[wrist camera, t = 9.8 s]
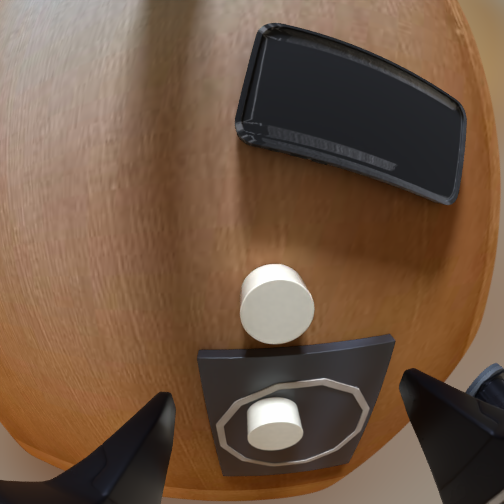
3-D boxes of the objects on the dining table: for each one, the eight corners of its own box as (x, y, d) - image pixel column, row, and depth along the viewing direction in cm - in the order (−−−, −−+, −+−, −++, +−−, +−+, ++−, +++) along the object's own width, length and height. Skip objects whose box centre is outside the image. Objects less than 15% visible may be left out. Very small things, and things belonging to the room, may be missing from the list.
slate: (390, 333, 18) (396, 341, 17) (346, 456, 23) (348, 463, 22) (198, 349, 17) (196, 359, 16) (223, 469, 22) (223, 476, 21)
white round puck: (300, 394, 18) (306, 418, 15) (296, 425, 19) (300, 447, 16) (245, 398, 18) (246, 423, 15) (247, 428, 19) (248, 451, 16)
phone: (260, 19, 11) (467, 107, 12) (259, 28, 12) (457, 109, 13) (229, 141, 13) (455, 210, 14) (231, 144, 14) (445, 208, 15)
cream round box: (306, 262, 16) (317, 276, 14) (303, 320, 17) (311, 341, 15) (238, 264, 16) (238, 280, 13) (241, 323, 17) (241, 346, 15)
